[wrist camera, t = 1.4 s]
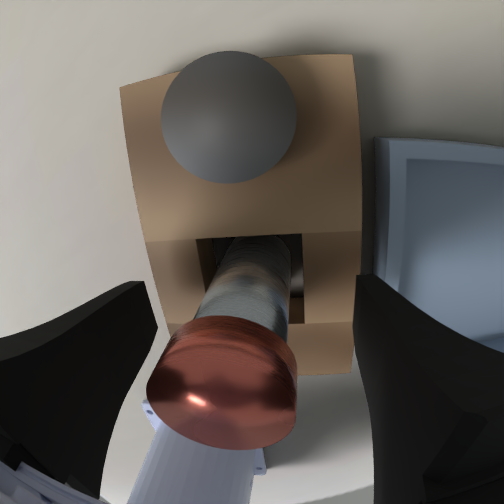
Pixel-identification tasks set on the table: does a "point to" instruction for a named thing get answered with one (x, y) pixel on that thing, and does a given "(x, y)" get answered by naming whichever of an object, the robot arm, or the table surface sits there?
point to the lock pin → (233, 355)
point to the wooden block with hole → (253, 183)
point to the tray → (443, 231)
